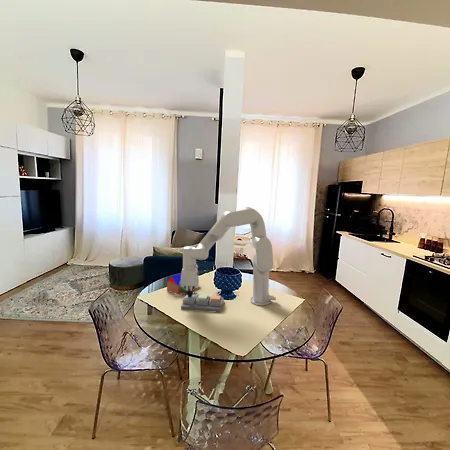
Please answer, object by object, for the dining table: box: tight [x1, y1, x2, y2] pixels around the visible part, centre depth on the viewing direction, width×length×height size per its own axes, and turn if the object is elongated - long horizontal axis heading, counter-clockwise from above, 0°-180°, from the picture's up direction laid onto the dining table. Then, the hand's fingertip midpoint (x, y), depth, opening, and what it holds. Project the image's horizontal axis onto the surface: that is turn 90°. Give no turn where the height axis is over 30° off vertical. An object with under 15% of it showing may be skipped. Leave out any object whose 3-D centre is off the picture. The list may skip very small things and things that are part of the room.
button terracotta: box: [210, 294, 222, 302], centre depth 151 cm, size 5×5×2 cm
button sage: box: [197, 293, 209, 301], centre depth 152 cm, size 5×5×2 cm
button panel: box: [180, 294, 225, 313], centre depth 152 cm, size 23×14×4 cm, turn 81°
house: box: [166, 272, 182, 295], centre depth 178 cm, size 12×20×12 cm, turn 142°
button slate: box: [184, 294, 196, 300], centre depth 154 cm, size 5×5×2 cm
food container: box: [179, 281, 195, 296], centre depth 169 cm, size 12×6×10 cm, turn 143°
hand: (189, 296), depth 153 cm, fingers closed
